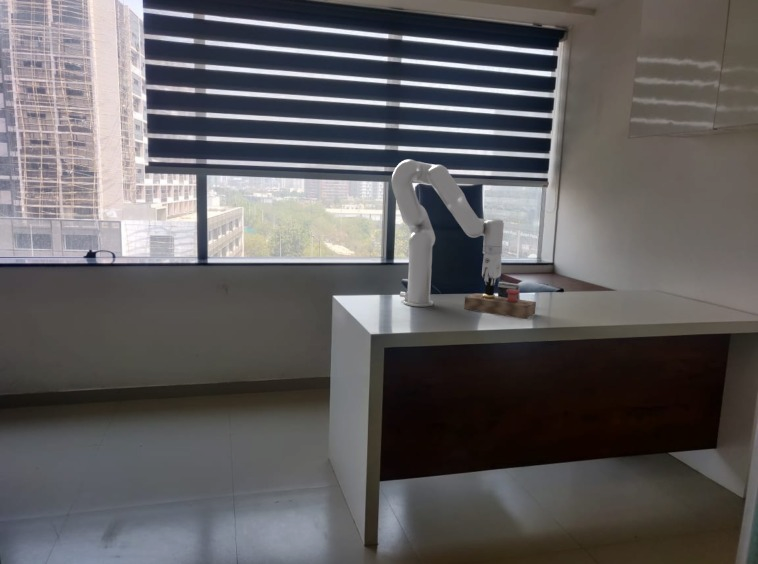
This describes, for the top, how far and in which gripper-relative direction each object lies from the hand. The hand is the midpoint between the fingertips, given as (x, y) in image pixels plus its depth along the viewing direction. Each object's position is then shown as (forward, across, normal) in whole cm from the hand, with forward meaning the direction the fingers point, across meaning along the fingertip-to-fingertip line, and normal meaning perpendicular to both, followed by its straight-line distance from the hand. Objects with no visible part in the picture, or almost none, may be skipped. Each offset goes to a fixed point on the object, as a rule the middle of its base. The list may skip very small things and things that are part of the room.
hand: (489, 294), depth 227 cm
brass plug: (+6, 0, 0) cm, 6 cm away
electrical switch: (+7, +19, -2) cm, 20 cm away
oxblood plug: (+3, 0, -10) cm, 10 cm away
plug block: (+6, 0, -5) cm, 8 cm away
